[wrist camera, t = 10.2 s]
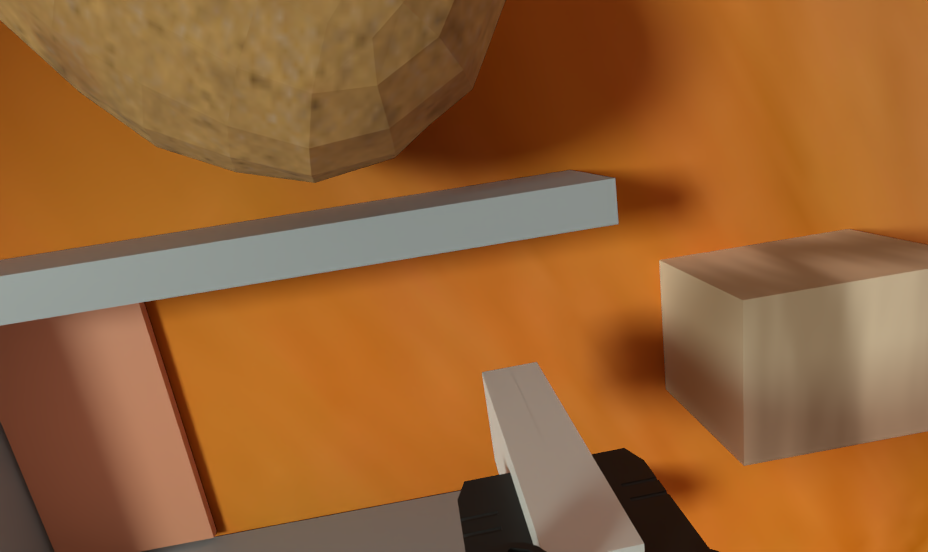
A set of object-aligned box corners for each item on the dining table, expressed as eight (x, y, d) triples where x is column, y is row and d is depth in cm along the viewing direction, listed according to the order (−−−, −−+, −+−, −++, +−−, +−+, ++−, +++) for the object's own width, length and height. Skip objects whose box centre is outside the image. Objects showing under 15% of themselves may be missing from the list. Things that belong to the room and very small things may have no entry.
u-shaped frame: (39, 598, 20) (-52, 711, 16) (-101, 276, 16) (-260, 317, 13) (600, 491, 21) (644, 571, 17) (570, 169, 18) (615, 177, 14)
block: (743, 465, 15) (972, 422, 16) (742, 300, 14) (991, 257, 14) (664, 387, 20) (840, 356, 20) (657, 259, 19) (846, 228, 19)
